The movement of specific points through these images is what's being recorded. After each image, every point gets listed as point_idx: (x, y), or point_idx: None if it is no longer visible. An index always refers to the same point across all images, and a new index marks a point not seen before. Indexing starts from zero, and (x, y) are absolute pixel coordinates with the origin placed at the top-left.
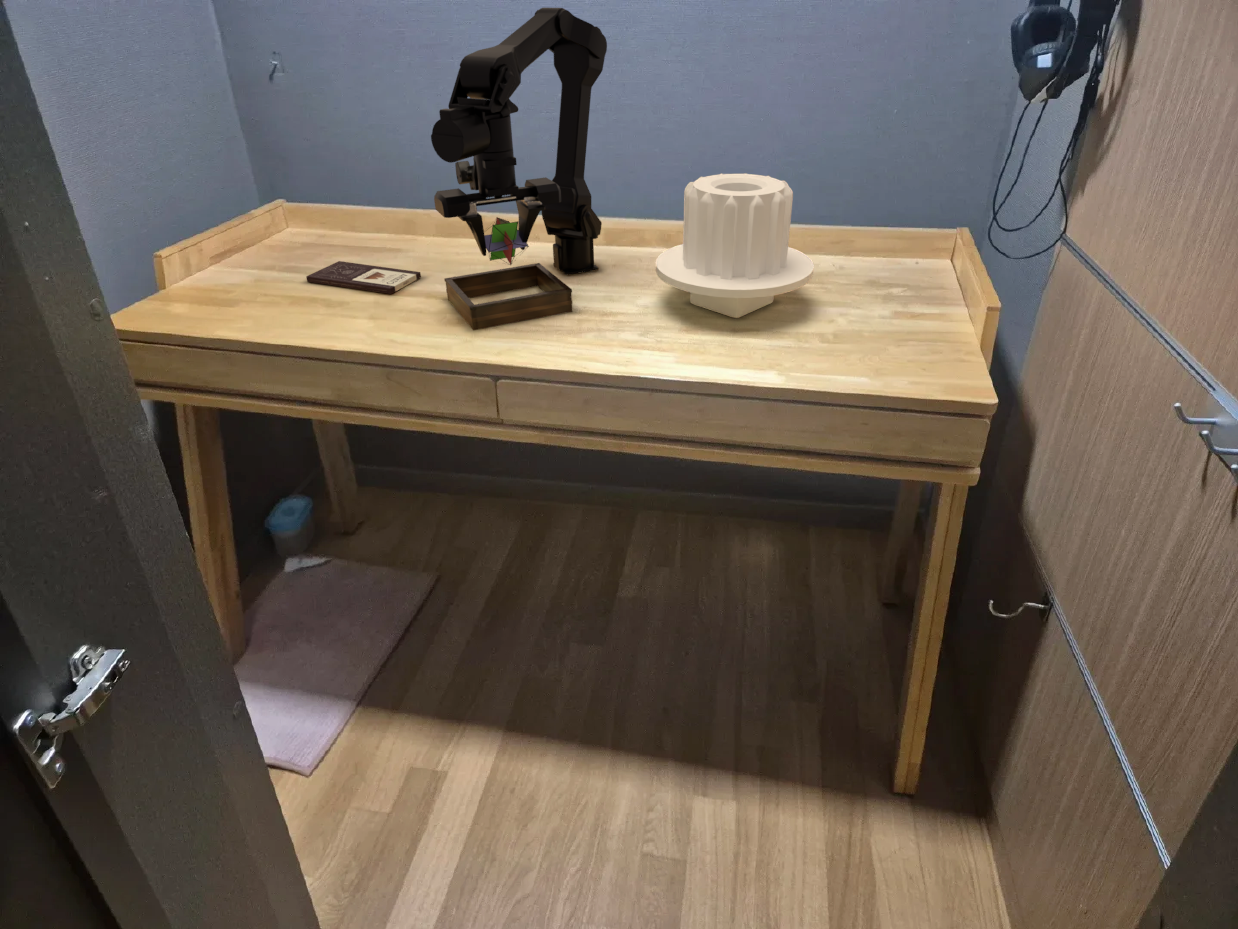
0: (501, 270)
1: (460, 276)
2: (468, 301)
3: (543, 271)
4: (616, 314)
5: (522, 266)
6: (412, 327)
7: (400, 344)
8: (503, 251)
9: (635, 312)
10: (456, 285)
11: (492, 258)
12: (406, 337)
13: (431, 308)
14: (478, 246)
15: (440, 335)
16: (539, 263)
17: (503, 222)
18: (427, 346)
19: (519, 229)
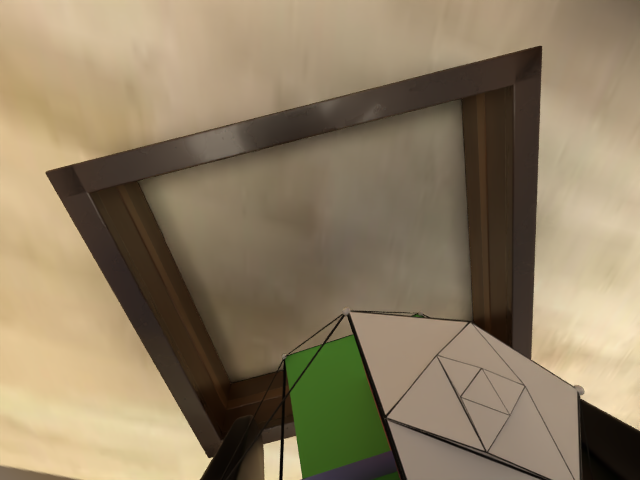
0: (337, 123)
1: (128, 163)
2: (199, 421)
3: (513, 185)
4: (572, 357)
5: (448, 85)
6: (41, 358)
7: (43, 441)
8: (370, 389)
9: (615, 353)
10: (129, 276)
11: (298, 363)
12: (46, 410)
13: (61, 227)
14: (210, 464)
15: (139, 409)
16: (539, 58)
17: (508, 478)
18: (118, 454)
19: (583, 468)
